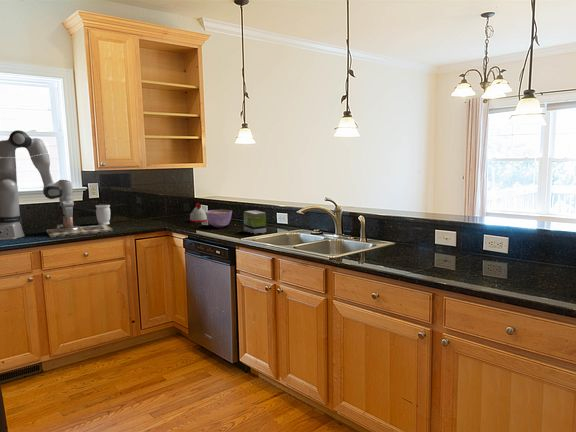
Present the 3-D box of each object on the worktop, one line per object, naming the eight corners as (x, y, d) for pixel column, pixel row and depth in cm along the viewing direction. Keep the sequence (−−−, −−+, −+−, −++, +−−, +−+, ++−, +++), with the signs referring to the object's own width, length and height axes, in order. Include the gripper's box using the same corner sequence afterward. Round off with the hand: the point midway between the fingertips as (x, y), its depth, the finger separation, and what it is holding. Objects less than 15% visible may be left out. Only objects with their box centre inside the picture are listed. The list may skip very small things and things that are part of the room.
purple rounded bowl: (227, 223, 347) (226, 209, 345) (236, 227, 330) (236, 212, 328) (202, 225, 338) (202, 210, 336) (210, 229, 320) (210, 214, 319)
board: (50, 237, 292) (49, 234, 292) (46, 231, 312) (46, 229, 312) (113, 231, 314) (112, 228, 314) (106, 226, 334) (105, 224, 334)
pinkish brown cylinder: (60, 228, 304) (59, 217, 303) (59, 227, 309) (58, 216, 308) (73, 227, 309) (73, 216, 308) (72, 226, 314) (71, 215, 313)
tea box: (243, 231, 313) (243, 211, 311) (255, 230, 319) (255, 209, 317) (254, 234, 301) (254, 213, 299) (266, 233, 307) (266, 212, 305)
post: (58, 233, 300) (57, 226, 299) (55, 229, 312) (55, 223, 311) (82, 230, 308) (81, 224, 307) (78, 227, 320) (78, 221, 320)
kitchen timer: (193, 223, 351) (192, 204, 348) (187, 220, 362) (186, 202, 360) (209, 221, 358) (209, 203, 356) (203, 219, 370) (202, 201, 367)
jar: (93, 224, 343) (92, 205, 341) (104, 222, 352) (103, 204, 350) (103, 225, 338) (102, 206, 336) (114, 223, 348) (112, 204, 345)
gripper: (59, 201, 314) (61, 220, 316) (63, 204, 297) (65, 224, 299) (69, 201, 317) (71, 220, 319) (73, 203, 301) (75, 223, 303)
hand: (68, 222), depth 309 cm, fingers open, 6 cm apart
